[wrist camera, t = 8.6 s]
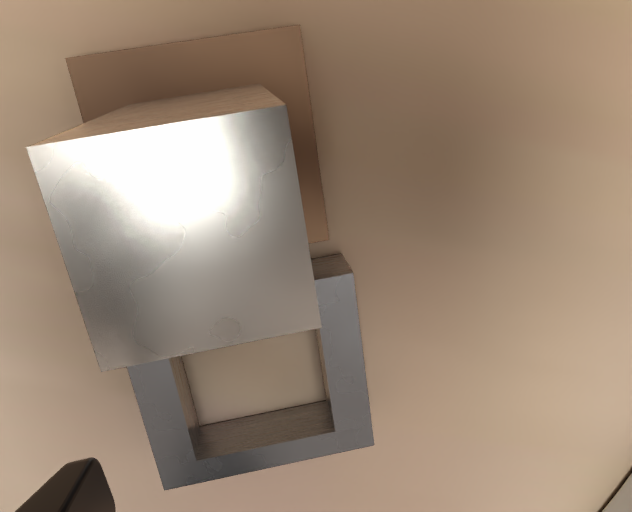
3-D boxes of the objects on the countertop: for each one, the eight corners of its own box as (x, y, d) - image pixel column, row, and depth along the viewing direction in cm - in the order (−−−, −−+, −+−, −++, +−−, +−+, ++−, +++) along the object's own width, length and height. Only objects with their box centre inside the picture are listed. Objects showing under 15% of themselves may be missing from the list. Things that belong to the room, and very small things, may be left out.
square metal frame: (362, 413, 23) (374, 445, 21) (169, 453, 22) (164, 490, 20) (341, 253, 20) (353, 273, 18) (123, 293, 19) (112, 317, 18)
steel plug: (280, 206, 18) (321, 327, 10) (162, 227, 18) (101, 372, 10) (259, 83, 17) (286, 104, 9) (130, 104, 17) (26, 147, 8)
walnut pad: (325, 233, 20) (329, 239, 19) (131, 267, 19) (127, 276, 18) (296, 26, 17) (299, 24, 17) (73, 58, 17) (65, 57, 16)
